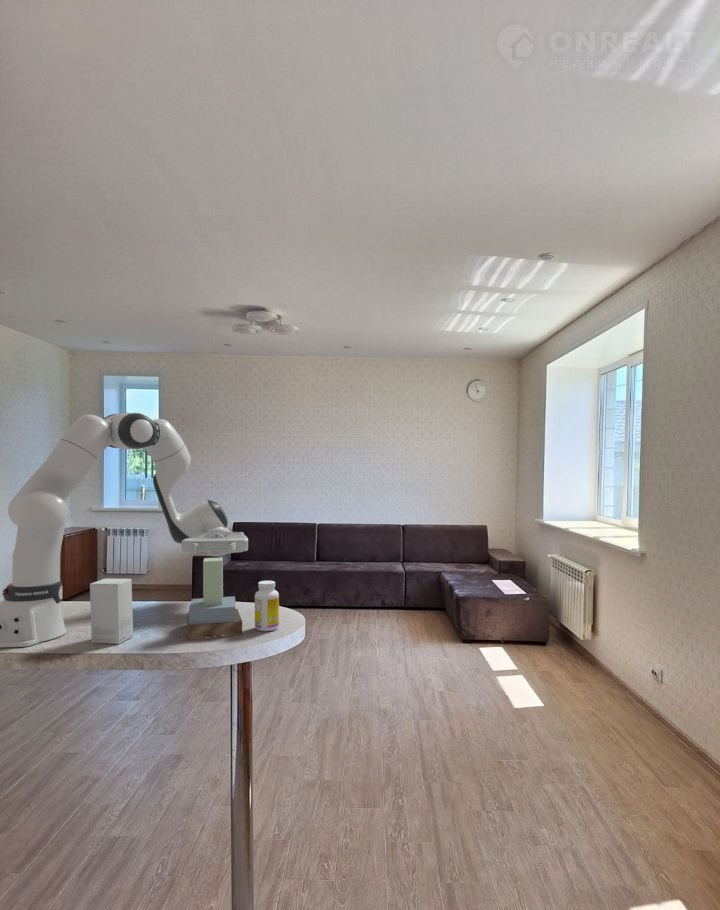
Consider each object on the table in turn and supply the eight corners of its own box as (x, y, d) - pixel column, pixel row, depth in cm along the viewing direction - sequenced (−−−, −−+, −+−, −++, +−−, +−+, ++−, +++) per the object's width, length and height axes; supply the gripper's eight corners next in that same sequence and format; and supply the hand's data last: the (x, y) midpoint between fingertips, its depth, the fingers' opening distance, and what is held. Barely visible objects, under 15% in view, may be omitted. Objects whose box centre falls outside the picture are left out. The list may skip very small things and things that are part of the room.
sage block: (203, 605, 145) (203, 561, 146) (204, 601, 150) (204, 558, 150) (222, 604, 146) (222, 560, 147) (222, 599, 151) (222, 557, 152)
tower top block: (188, 625, 141) (188, 609, 141) (191, 613, 153) (191, 598, 153) (235, 621, 144) (235, 606, 144) (234, 610, 156) (234, 596, 156)
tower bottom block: (187, 642, 140) (187, 626, 140) (187, 627, 153) (187, 612, 153) (242, 636, 144) (242, 621, 144) (237, 622, 157) (237, 608, 157)
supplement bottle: (281, 625, 152) (281, 579, 152) (275, 632, 145) (275, 585, 146) (258, 624, 153) (258, 579, 153) (251, 631, 146) (251, 584, 146)
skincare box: (133, 637, 142) (134, 578, 142) (117, 645, 135) (117, 583, 136) (106, 635, 144) (106, 577, 144) (88, 643, 137) (89, 582, 138)
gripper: (183, 532, 173) (178, 537, 159) (248, 532, 177) (248, 537, 163) (183, 552, 172) (177, 559, 159) (248, 551, 177) (247, 557, 163)
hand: (213, 547), depth 161 cm, fingers open, 8 cm apart
